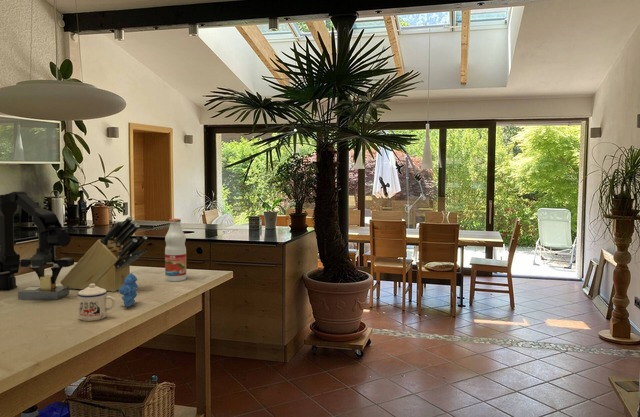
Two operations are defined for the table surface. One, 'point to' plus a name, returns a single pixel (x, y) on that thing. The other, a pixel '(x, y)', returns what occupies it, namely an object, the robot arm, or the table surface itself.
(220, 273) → the table surface
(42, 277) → the wooden square beam
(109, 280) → the knife block
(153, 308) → the table surface
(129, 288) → the grapes
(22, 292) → the rail plate
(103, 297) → the teacup with lid
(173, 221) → the fruit juice
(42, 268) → the robot arm
